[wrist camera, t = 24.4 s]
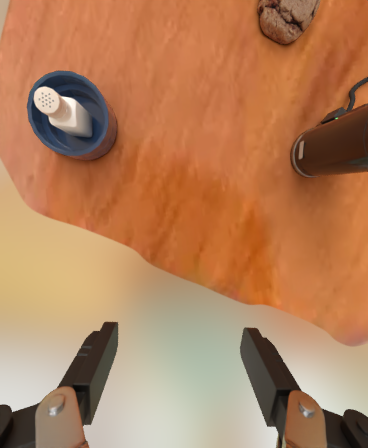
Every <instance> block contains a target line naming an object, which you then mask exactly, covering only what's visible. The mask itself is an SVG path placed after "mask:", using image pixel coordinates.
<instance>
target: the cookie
mask: <svg viewBox="0 0 368 448" xmlns="http://www.w3.org/2000/svg"><path fill="white" fill-rule="evenodd" d="M319 5H320V0H260V2H259V5H258V8H257V11H258V13H260V14H259V15H260V25H261V28H262V30H263V32H264V33H265V35H267V36H268V37H269V38H271V39H273V40H274V41H277V42H279V44H283V45H284V44H288V43H290V42H292V41H294V40H296V39H297V38H298V37H299V36H300V35H301V34H302V33H303V32H304V31H305V29H306V28H307V27H308V26H309V24H310V23H311V21H312V20H313V19H314V17H315V14H316V12H317V10H318V8H319Z"/></svg>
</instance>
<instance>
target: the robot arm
mask: <svg viewBox="0 0 368 448" xmlns="http://www.w3.org/2000/svg"><path fill="white" fill-rule="evenodd" d="M366 82H368V77H367V78H365V79H363V80H362V81H360V82H359V83H357V84H356V85H355V86H354V87H353V88H352V89H351V91H350V92H349V97H350V102H349V105H348V108H347V110H345V109H344V108H343V107H341V108H339V109H337V110H335V111H333V112H331V113H329V114H328V115H327V116H326V117H325V118H324V120H323V121H322V122H321V124H319V125H317V126H316V127H315V128H313V129H310V130H308V131H306V132H304V133H302V134H301V135H300V136H299V137H298V138H297V139H296V141H295V142H294V144H293V147H292V150H291V162H292V165H293V167H294V169H295V170H296V172H297V173H299V174H300V175H302V176H304V177H309V178H312V177H319V176H329V175H339V174H350V173H360V172H368V104H364V105H362V106H359V107H357V108H355V109H353V110H352V108H353V106H354V103H355V94H354V92H355V91H356V89H357V88H358V87H360V86H361V85H363V84H364V83H366ZM117 347H118V322H104V324H103V326H102V328H101V330H100V331H93V332H92V333H91V334H90V335H89V336H88V337H87V338H86V339H85V341H84V343H83V344H82V346H81V349H80V350H79V351H78V353H77V356H76V357H75V358H74V360H73V362H72V363H71V365H70V367H69V369H68V370H67V372H66V374H65V376H64V378H63V379H62V381H61V382H60V384H59V386H58V387H57V389H55V390H53V391H52V392H50V393H49V394H48V395H47V396H45V398H44V399H43V400H42V401H41V402H40V403H38V404H36V405H33V406H30V407H27V408H24V409H21V410H18V411H15V412H12V410H11V408H10V406H8V405H0V448H89V445H88V442H87V441H86V439H85V435H84V431H83V426H84V425H91V423H92V420H93V418H94V415H95V412H96V409H97V406H98V403H99V401H100V398H101V395H102V392H103V389H104V386H105V383H106V381H107V378H108V375H109V372H110V369H111V366H112V364H113V361H114V358H115V355H116V352H117ZM240 353H241V358H242V361H243V363H244V366H245V369H246V371H247V374H248V377H249V379H250V382H251V384H252V387H253V390H254V393H255V395H256V398H257V401H258V403H259V406H260V408H261V411H262V414H263V416H264V419H265V422H266V424H267V426H269V427H271V426H273V427H276V429H277V431H278V438H277V445H276V448H368V417H367V416H365V415H364V414H362V413H360V412H358V411H356V410H351V409H348V410H346V411H345V412H344V415H343V416H340V415H338V414H335V413H332V412H329V411H327V410H324V409H322V408H321V407H320V406H319V405H318V403H317V402H316V401H315V400H314V399H313V398H312V397H310V396H309V395H308V394H306V393H304V392H302V391H301V389H300V388H299V386H298V384H297V382H296V381H295V379H294V378H293V376H292V374H291V373H290V371H289V369H288V368H287V366H286V365H285V363H284V362H283V360H282V358H281V356H280V355H279V353H278V351H277V350H276V348H275V346H274V345H273V344H272V343H271V342H270V341H269V340H268V339H267V338H263V337H262V336H261V334H260V332H259V330H258V329H257V328H244V330H243V335H242V341H241V346H240Z"/></svg>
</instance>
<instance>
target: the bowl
mask: <svg viewBox="0 0 368 448" xmlns="http://www.w3.org/2000/svg"><path fill="white" fill-rule="evenodd" d="M40 87H48V88H51V89H53V90H54V91H55V92H57V93H58V94H59V95H60V96H62V97H69V98H73V99H74V100H76V101H77V102H78V103H79V104H80V105H81V106H82V107H83V108H84V109H85V110H87V111H88V112H89V113H90V114H91V116H92V137H78V136H72V135H70V134H68V133H66V132H64V131H63V130H61V129H59V128H57V127H55V126H54V125H52V124H51V123H50V121H49V117H48V115H46V114H44V113H43V112H41V111H40V110H39V109H38V108H37V107H36V105H35V102H34V94H35V91H36V90H37V89H38V88H40ZM27 111H28V119H29V122H30V124H31V126H32V129H33V131H34V133H35V134H36V135H37V137H38V138H39V139H40V140H41V142H42V143H43V144H44V145H46V146H47V147H49V148H50V149H51V150H53V151H55V152H57V153H60V154H63V155H66V156H69V157H72V158H75V159H78V160H93V159H96V158H99V157H101V156H102V155H104V154H105V153H106V152H108V151H109V149H110V148H111V146H112V145H113V143H114V140H115V137H116V133H117V126H116V118H115V115H114V113H113V110H112V108H111V107H110V105H109V104H108V102H107V101H106V100H105V98H104V97H103V95H102V94H101V93H100V91H99V90H98V89H97V87H96V86H95V85H94V84H93V83H92V82H90V81H89V80H88V79H87V78H85V77H84V76H81V75H79V74H76V73H74V72H71V71H55V72H52V73H48V74H46V75H44V76H43V77H42V78H40V79H39V80H38V81H37V82H35V84H34V86H33V88H32V89H31V91H30V94H29V98H28V103H27Z"/></svg>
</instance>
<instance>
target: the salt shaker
mask: <svg viewBox="0 0 368 448" xmlns="http://www.w3.org/2000/svg"><path fill="white" fill-rule="evenodd" d="M34 102H35V105H36V107H37V108H38V109H39V110H40V111H41V112H43V113H44V114H46V115H48V117H49V121H50V123H51V124H52V125H54V126H55V127H57V128H59V129H61V130H63V131H64V132H66V133H68V134H70V135H72V136H78V137H92V116H91V114H90V113H89V112H88V111H87V110H85V109H84V108H83V107H82V106H81V105H80V104H79V103H78V102H77V101H76V100H74V99H73V98H69V97H62V96H60V95H59V94H58V93H57V92H55V91H54V90H53V89H51V88H48V87H40V88H38V89H37V90H36V91H35V94H34Z"/></svg>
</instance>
